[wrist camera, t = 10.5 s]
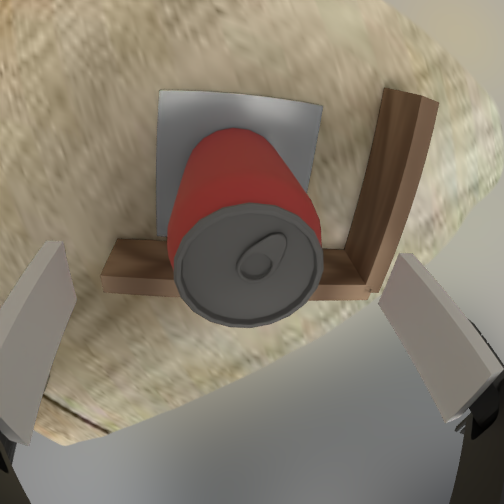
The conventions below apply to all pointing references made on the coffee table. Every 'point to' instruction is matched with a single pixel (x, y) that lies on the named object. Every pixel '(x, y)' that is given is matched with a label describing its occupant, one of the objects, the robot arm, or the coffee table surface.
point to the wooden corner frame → (362, 229)
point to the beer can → (243, 233)
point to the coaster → (224, 117)
